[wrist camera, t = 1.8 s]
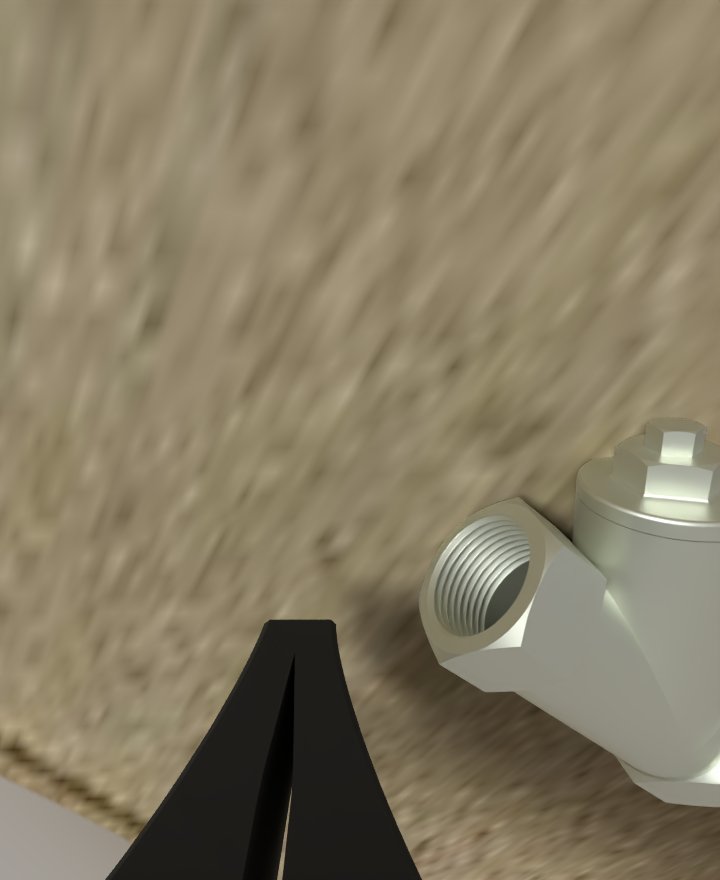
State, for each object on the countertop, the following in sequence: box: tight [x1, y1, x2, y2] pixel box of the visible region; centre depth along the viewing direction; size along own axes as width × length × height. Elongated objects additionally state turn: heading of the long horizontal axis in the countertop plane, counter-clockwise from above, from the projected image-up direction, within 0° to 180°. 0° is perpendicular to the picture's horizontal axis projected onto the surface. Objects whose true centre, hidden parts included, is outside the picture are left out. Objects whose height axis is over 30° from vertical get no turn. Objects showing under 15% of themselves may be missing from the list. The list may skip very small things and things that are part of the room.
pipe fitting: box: [419, 418, 720, 807], centre depth 10 cm, size 8×4×7 cm
